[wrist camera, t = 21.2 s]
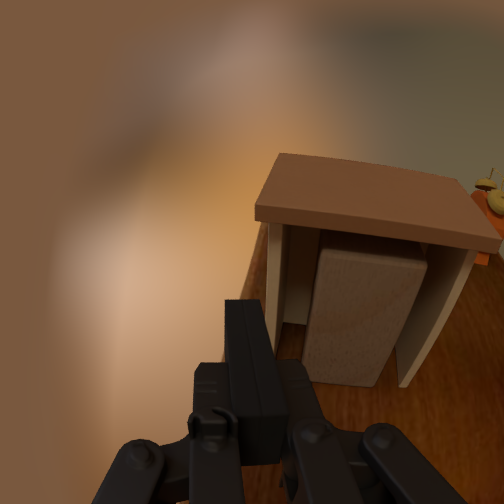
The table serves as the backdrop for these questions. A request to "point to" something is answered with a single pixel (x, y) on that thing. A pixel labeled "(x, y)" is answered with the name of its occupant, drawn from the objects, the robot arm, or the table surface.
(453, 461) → the table surface
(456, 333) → the table surface
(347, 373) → the wooden block
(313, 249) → the desk
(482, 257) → the alarm clock
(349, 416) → the table surface
